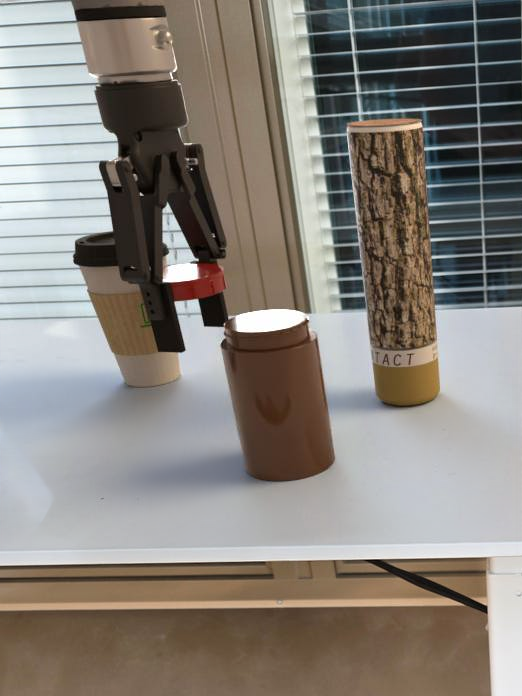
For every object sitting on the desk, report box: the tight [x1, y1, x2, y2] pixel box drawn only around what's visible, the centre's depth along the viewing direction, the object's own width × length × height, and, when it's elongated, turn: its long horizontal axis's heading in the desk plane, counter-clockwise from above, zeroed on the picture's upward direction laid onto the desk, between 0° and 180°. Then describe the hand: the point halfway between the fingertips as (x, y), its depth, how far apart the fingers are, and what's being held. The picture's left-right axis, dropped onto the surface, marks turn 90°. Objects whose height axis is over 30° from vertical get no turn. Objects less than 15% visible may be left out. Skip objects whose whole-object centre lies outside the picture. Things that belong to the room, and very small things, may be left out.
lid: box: [139, 263, 227, 303], centre depth 88 cm, size 8×8×2 cm
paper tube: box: [346, 118, 441, 407], centre depth 86 cm, size 7×7×25 cm
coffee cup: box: [72, 230, 181, 388], centre depth 98 cm, size 10×10×15 cm
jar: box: [219, 309, 336, 482], centre depth 76 cm, size 8×8×12 cm
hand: (195, 337), depth 92 cm, fingers closed on lid, 8 cm apart
